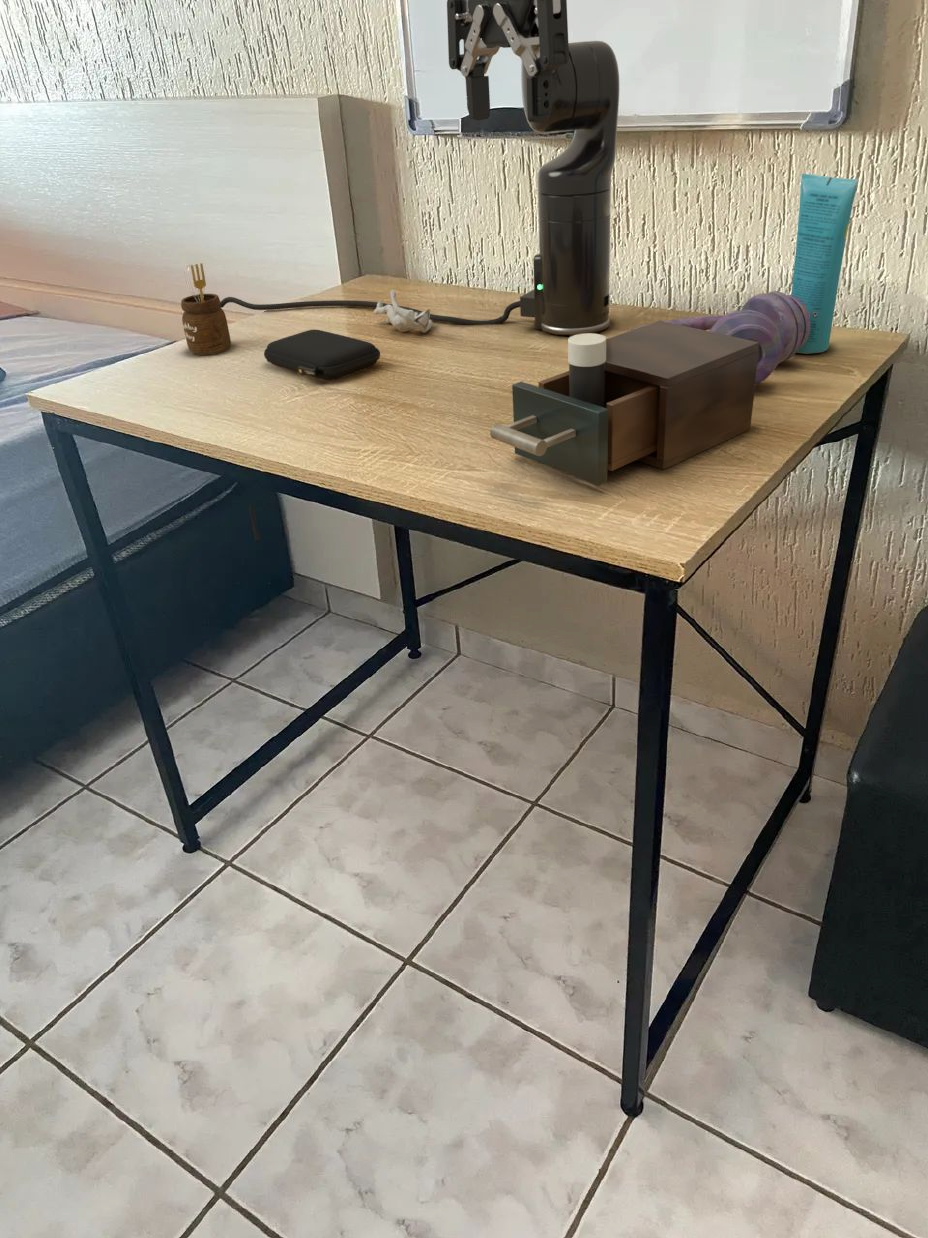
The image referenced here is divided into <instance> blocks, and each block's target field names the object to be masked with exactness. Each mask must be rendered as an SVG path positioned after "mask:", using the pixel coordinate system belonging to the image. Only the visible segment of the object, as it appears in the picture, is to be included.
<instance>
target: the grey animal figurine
mask: <svg viewBox="0 0 928 1238" xmlns="http://www.w3.org/2000/svg"><path fill="white" fill-rule="evenodd" d="M389 293H390V302H391V304H392V305H393V306H392V305H389V304H390V303H387V304H388V305H386V306H384V307H382V305H383V303H384V302H383V301H382V300H379V301H377V302H378V303H377V308H375V309H374V310H373V314H374V315H378V314H387V318H386V319H385V323H386V324H390V323H391V325H392V326H393V327H394V328H396V329H397V331H399V332H400V333H406V332H409V331H411V330H417V331H419V332H421V333H422V334H425V333H427V332H428V331H429V330H431V328H432V326H433V324H434V322H433V320H430V319H429V318H430V314H431V309H430V308H428V309H426V310H423V311H422V313H420V314H418V313H417V312H414V311H413V310H407V309H403V308H400V307H399V306H400V305H399V303H398V301H397V298H396V296H397V293H396V289H391V290H389Z"/></svg>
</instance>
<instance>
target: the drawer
mask: <svg viewBox="0 0 928 1238" xmlns="http://www.w3.org/2000/svg"><path fill="white" fill-rule="evenodd" d="M511 386H512V387H511V392H512V412H513V413H512V416H513V417H512V418H513V422H511V423H509V424H506V425H503V424H501V423H495V424H493V425H492V426H491V428H490V430H489V434H490V437H491V438H492V439H493V440H496V441H498V442H501V443H503V444H506V445H509V446H511V447H514V454H515V455H518V456H521V457H523V458H524V459H525V458H526V459H528V460H531V461H533V462H536V463H538V464H540V465H544V466H546V467H548V468H550V469H553V470H556V471H558V472H561V473H563V474H566V475H568V476H571V477H574V478H576V479H579V480H581V481H584V482H586V483H589V484H592V485H594V486H596V487H600V486H601V485H604V484H606V483H608V471H610V472H613V471H616V470H617V469H619V468H621V467H624V466H627V465H628V464H631V463H632V462H635V461H638V460H637V459H640V458H642V457H644V456H646V455H648V454H651V453H653V452H655V451H657V441H658V420H659V398H660V386H659V385H655V384H652V383H648V382H644V381H641V380H637V379H634V378H630V377H627V376H623V375H619V374H616V373H612V372H609V371H605V389H604V408H603V407H600V406H597V405H594V404H591V403H588V402H584V401H581V400H578V399H575V398H572V397H569V370H567V371H565V372H562V373H559V374H556V375H554V376H551V377H548V378H545V379H542V380H540V381H538V386H537V385H533V384H530V383H528V382H525V381H519V382H516V383H513V384H511Z"/></svg>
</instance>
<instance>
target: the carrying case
mask: <svg viewBox="0 0 928 1238" xmlns="http://www.w3.org/2000/svg"><path fill="white" fill-rule="evenodd" d="M263 356H264V359H265V360H266V362H268V363H271V364H272V365H274V366H275V367H279V368H283V369H286V370H289V371H292V372H296V373H298V374H299V375H300V376H309V377H313V378H316V379H320V380H323V381H336V380H339V379H343V378H345V377H348V376H349V375H350V376H351V375H354V374H356V373H359V372H362V371H364V370H367V369H370V368H373V367H374V366H375V365H376V364H377V363H378V361H379V359H380V358H381V351H380V350H379V348H377V347H376V345H374V344H373V343H372V342H369V341H366V340H361V339H357V338H354V337H350V336H347V335H342V334H339V333H334V332H330V331H327V330H326V331H325V330H321V329H307V330H305V331H300V332H299V333H295V334H292V335H289V336H286V337H282V338H280V339H276V340H273V341H271V342H269V343H268V344H267V345H266V348H265V349H264V352H263Z"/></svg>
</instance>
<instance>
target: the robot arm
mask: <svg viewBox="0 0 928 1238" xmlns="http://www.w3.org/2000/svg"><path fill="white" fill-rule="evenodd" d="M446 16H447V19H446V20H447V21H446V22H447V49H448V51H447V52H448V66H449V68H450V69H451V70H457V71H459V72H460V73H461V75H462V76H463V77H464V78H465V92H466V108H467V112H468V117H469V120H471V121H483V120H489V118H490V116H491V103H490V102H491V99H490V98H491V97H490V96H491V95H490V77H489V75H486V74H487V72H488V70H489V67H490V65H491V62H492V59H493V57H494V56H495V55H496V54H497V53H498V52H499V50H500V49H501V48H503V49H507V48H509V49H510V48H511V50H512V52H513V54H514V55H515V56H518V57H519V58H520V61H521V64H520V67H521V69H520V70H521V73H520V75H521V76H520V77H521V78H520V79H521V81H520V82H521V96H522V97H521V98H522V105H523V111H524V115H525V118H526V121H527V123H528V125H529V127H530V128H531V129H532V130H533V131H534V132H536V133H538V134H554V133H563V132H570V131H571V132H572V131H574V132H573V133H574V134H573V138H572V139H571V142H570V143H569V145H568V146H567V147H566V148H565V149H564V150H563V151H562V152H561V153H560V154H559V155H557V156H556V157H554V158H552V159H551V160H550V161H548V162H546V163H544V164H542V166H541V167H540V168H539V170H538V172H537V206H538V208H537V210H538V213H537V214H538V247H539V253H537V254H535V255H534V256H533V260H532V262H533V265H532V266H533V289H532V290H530V291H528V292H526V293H525V294H523V295H521V296H520V297H519V301H514V302H512V303H510V304H508V306H506V307H505V309H504V312H503V314H502V315H501V316H499V317H497V318H493V319H489V320H476V319H467V318H461V317H455V316H447V315H439V314H433V313H430V318H429V320H431V321H435V322H440V323H441V322H442V323H450V324H457V325H464V326H484V325H485V326H486V325H487V326H488V325H499V324H503V323H504V322H506V321H507V320H508V319H509V317H510V314H511V312H512V311H513V310H516V309H520V317H524V318H525V317H526V318H534V330H541V331H543V332H545V333H547V334H551V335H552V334H553V335H557V336H558V335H560V336H574V335H578V334H586V333H593V334H596V333H598V332H602V331H603V330H606V329H607V328H608V327H609V326H610V319H611V318H610V305H611V295H610V274H611V273H610V272H611V271H610V270H611V269H610V267H611V203H612V202H611V201H612V199H611V198H612V197H611V196H612V175H613V170H614V167H615V162H616V155H617V154H616V152H617V133H618V121H619V108H620V107H619V106H620V71H619V65H618V61H617V57H616V54H615V52H614V50H613V48H612V47H611V46H610V45H609V43H608V42H606V41H603V40H587V41H576V42H575V41H574V42H569V26H568V2H567V0H446ZM461 40H462V41H463V53H462V54H461V49H460V48H461V46H460V45H461V44H460V42H461ZM220 302H221V305H220V308H222V309H223V308H224V307H225V306H226V305H227V304H229V303H233V304H236V305H239V306H241V307H243V308H246V309H249V310H254V311H272V310H273V311H274V310H285V309H297V308H307V307H308V308H313V307H314V308H315V307H362V308H363V307H364V308H375V309H376V308H377V303H378V302H379V301H370V300H345V299H343V300H342V299H341V300H339V299H338V300H334V299H333V300H307V301H294V302H283V303H268V304H267V303H265V304H264V303H263V304H257V303H256V304H255V303H250V302H246V301H244V300H242V299H239V298H237V297H233V296H227V297H224V298H223V299H222V300H220ZM382 303H383V305H382V307H384V306H386V305H388V304H389V305H392V303H386V302H382ZM392 306H393V305H392ZM399 307H400V308H403V309H407V310H413V311H414V312H417V313H418V314H420V313H422V312H423V311H422V310H419V309H416V308H412V307H407V306H402V305H399ZM248 510H249V514H250V519H251V523H252V524H251V525H252V529H253V534H254V539H255V541H260V539H261V538H260V532H259V527H258V523H257V517H256V513H255V507H254V506H252V505H248Z"/></svg>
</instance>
